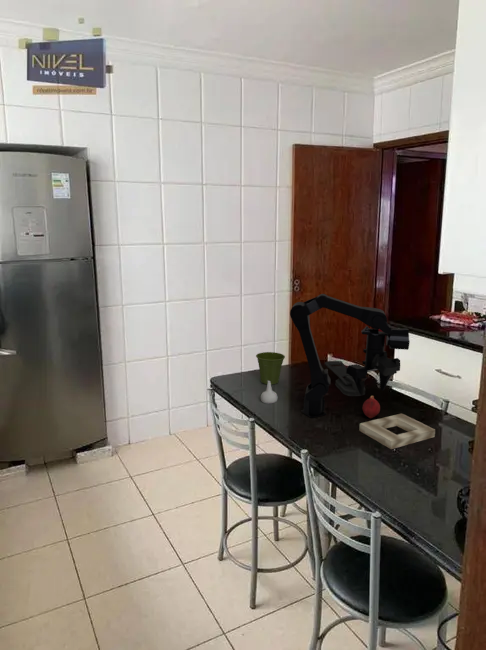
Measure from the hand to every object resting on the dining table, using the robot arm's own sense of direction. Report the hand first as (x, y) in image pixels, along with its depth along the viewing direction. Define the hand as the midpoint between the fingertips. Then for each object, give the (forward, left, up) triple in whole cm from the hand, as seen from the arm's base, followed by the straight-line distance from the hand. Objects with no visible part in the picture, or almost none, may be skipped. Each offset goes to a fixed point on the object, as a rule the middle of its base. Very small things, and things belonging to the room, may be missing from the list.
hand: (371, 392), depth 161 cm
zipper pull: (+13, +30, -10) cm, 34 cm away
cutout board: (-1, -13, -9) cm, 16 cm away
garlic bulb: (-23, +29, -10) cm, 38 cm away
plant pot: (-12, +47, -10) cm, 49 cm away
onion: (0, 0, -10) cm, 10 cm away
